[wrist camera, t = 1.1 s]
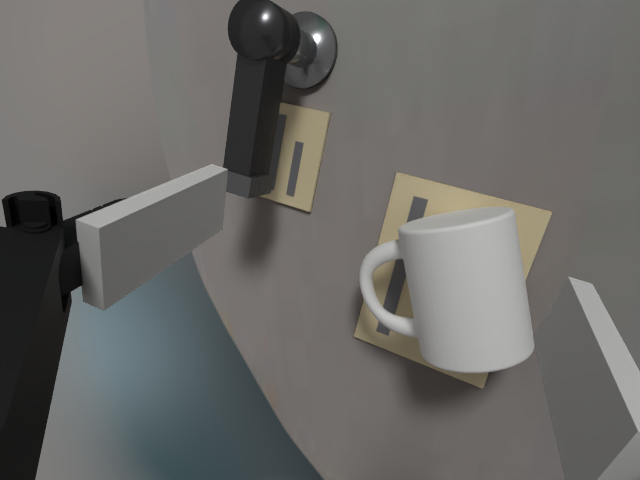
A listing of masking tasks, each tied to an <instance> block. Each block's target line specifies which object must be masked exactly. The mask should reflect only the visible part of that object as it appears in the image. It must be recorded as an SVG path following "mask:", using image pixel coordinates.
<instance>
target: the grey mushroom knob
mask: <svg viewBox="0 0 640 480" xmlns="http://www.w3.org/2000/svg"><path fill="white" fill-rule="evenodd" d="M293 16H294V17H295V19H296V20H297V22H298V24H299V28H300V34H301V39H300V45H299V49H298V51H297V53H296V55H295V56H294V58H293V59H292V60H291V61H290V62H289V63H287V67H286V73H285V79H284V82H285V83H287V84H288V85H290V86H293V87H296V88H301V89H307V88H312V87H315V86H317V85H319V84H320V83H321V82H323V81H324V80H325V79H326V78H327V77H328V75H329V74H330V73H331V71H332V69H333V67H334V65H335V62H336V58H337V39H336V36H335V33H334V31H333V29H332V27H331V26H330V24H329V23H328V22H327V21H326V20H325V19H324V18H322V17H321V16H319V15H317V14H315V13H312V12H298V13H295V14H293Z"/></svg>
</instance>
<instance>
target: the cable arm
mask: <svg viewBox="0 0 640 480" xmlns="http://www.w3.org/2000/svg"><path fill="white" fill-rule="evenodd" d="M228 35H229V39H230V42H231V45H232V47H233V48H234V50H235V51H236V52H237V53H238V54H237V62H236V70H235V78H234V86H233V94H232V102H231V110H230V118H229V125H228V133H227V141H226V149H225V157H224V165H223V168H226V169H228V176H227V187H226V192H229V193H233V194H236V195H239V196H242V197H245V198H253V197H257V196H262V195H266V194H271V189H272V183H273V177H274V175H273V174H270V173H269V171H270V165H271V159H272V153H273V147H274V140H275V134H276V128H277V122H278V116H279V110H280V104H281V97H282V91H283V85H284V79H285V73H286V67H287V63H289V62H290V61H291V60H292V59H293V58H294V56H295V55H296V53H297V51H298V49H299V45H300V39H301V34H300V28H299V24H298V22H297V20H296V19H295V17H294V16H293V15H292V14H291V13H289V12H288V11H286V10H284V9H283V8H281V7H280V6H278V5H276V4H275V3H273V2H272V1H270V0H239V1H238V2H237V4H236V5H235V6H234V8H233V10H232V12H231V14H230V17H229V22H228Z"/></svg>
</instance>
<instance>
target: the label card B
mask: <svg viewBox="0 0 640 480" xmlns="http://www.w3.org/2000/svg"><path fill="white" fill-rule="evenodd" d="M482 207H509V208H511V209H513V210H514V211H515V216H516V223H517V229H518V236H519V243H520V250H521V257H522V263H523V270H524V277H525V280H526V278H527V275H528V273H529V270H530V268H531V265H532V263H533V260H534V257H535V255H536V252H537V250H538V247H539V245H540V242H541V240H542V237H543V235H544V232H545V230H546V227H547V225H548V222H549V219H550V217H551V214H552V212H551V211H547V210H543V209H539V208H535V207H531V206H527V205H523V204H519V203H516V202H512V201H508V200H504V199H500V198H496V197H492V196H488V195H484V194H480V193H476V192H472V191H469V190H465V189H461V188H457V187H453V186H449V185H445V184H441V183H437V182H433V181H429V180H426V179H422V178H418V177H414V176H410V175H406V174H402V173H398V172H397V174H396V178H395V182H394V185H393V189H392V193H391V197H390V201H389V205H388V208H387V212H386V216H385V220H384V224H383V227H382V231H381V235H380V239H379V243H378V246H379V245H381V244H383V243H386V242H389V241H393V240H397V239H399V235H398V229H399V227H400V226H402V225H403V224H405V223H408V222H410V221H413V220H416V219H420V218H424V217H428V216H432V215H436V214H441V213H446V212H452V211H458V210H465V209H472V208H482ZM372 280H373V286H374V290H375V293H376V296H377V298H378V300H379V302H380V304H381V305H382V307H383V308H384V309H385V310H387V311H388V312H390V313H391V314H394V315H397V316H401V317H407V318H414V315H413V309H412V304H411V299H410V293H409V288H408V283H407V277H406V272H405V267H404V261H403V259H397V260H393V261H390V262H387V263H385V264H383V265H381V266H379V267H378V268H377V269H376V270H375V271H374V273H373V277H372ZM354 337H356V338H359V339H361V340H364V341H366V342H369V343H371V344H373V345H376V346H378V347H381V348H383V349H386V350H388V351H391V352H393V353H396V354H398V355H400V356H403V357H405V358H408V359H410V360H413V361H415V362H418V363H420V364H423V365H425V366H427V367H430V368H432V369H435V370H437V371H440V372H442V373H445V374H447V375H449V376H452V377H454V378H457V379H459V380H462V381H464V382H467V383H469V384H472V385H474V386H476V387H479V388H481V389H483V387H484V384H485V382H486V379H487V377H488V374H489V372H487V373H459V372H452V371H447V370H443V369H440V368H438V367H435V366H433V365H431V364H430V363H428V362H427V361H426V360H425V359H424V358H423V357H422V355H421V352H420V347H419V341H418V338H416V337H409V336H404V335H401V334H398V333H395V332H393V331H391V330H389V329H388V328H386V327H385V326H384V325H382V324H381V323H380V322H379V321H378V320H377V319H376V318H375V317H374V315H373V314H372V313H371V311H370V310H369V308H368V307H367V305H366V303H365V301H364V300H363V304H362V308H361V312H360V315H359V319H358V323H357V327H356V331H355V334H354Z"/></svg>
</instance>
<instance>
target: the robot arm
mask: <svg viewBox="0 0 640 480" xmlns="http://www.w3.org/2000/svg"><path fill="white" fill-rule="evenodd" d="M227 176H228V169H226V168H223V167H219V166H216V165H213V164H211V165H208V166H206V167H203V168H201V169H198V170H196V171H193V172H191V173H188V174H186V175H184V176H181V177H179V178H176V179H174V180H171V181H169V182H166V183H164V184H162V185H159V186H157V187H154V188H152V189H149V190H147V191H144V192H142V193H140V194H137V195H135V196H132V197H130V198H124V199H118V200H114V201H112V202H109V203H107V204H104V205H103V206H99V207H97V208H94V209H93V210H89V211H86V212H84V213H82V214H79V215H76V216H74V217H72V218H69V219H66V220H64V221H63V217H62V208H61V200H60V197H59V196H57V195H56V194H53V193H50V192H45V191H23V192H17V193H13V194H10V195H8V196H6V197H5V198H3V199H2V204H3V209H4V215H5V220H6V226H7V227H0V480H35V477H36V473H37V468H38V463H39V458H40V453H41V448H42V444H43V439H44V434H45V429H46V424H47V419H48V414H49V410H50V405H51V400H52V395H53V390H54V385H55V380H56V375H57V371H58V366H59V361H60V356H61V351H62V346H63V341H64V337H65V332H66V327H67V322H68V317H69V312H70V307H71V302H72V300H71V291H73V290H74V289H76V288H78V287H79V286H81V285H82V294H83V301H84V302H85V303H88V304H90V305H92V306H95V307H97V308H99V309H102V310H105V309H107V308H108V307H110V306H112V305H113V304H114V303H116V302H117V301H118V300H120V299H122V298H123V297H124V296H126V295H127V294H129V293H130V292H132V291H133V290H135V289H136V288H138V287H139V286H141V285H142V284H143V283H145V282H146V281H148V280H149V279H151V278H152V277H154V276H155V275H156V274H158V273H159V272H161V271H162V270H164V269H165V268H167V267H168V266H170V265H171V264H172V263H174V262H175V261H177V260H178V259H180V258H181V257H182V256H184V255H186V254H187V253H188V252H190V251H191V250H193V249H194V248H196V247H197V246H199V245H200V244H202V243H203V242H204V241H206V240H207V239H209V238H210V237H212V236H213V235H215V234H216V233H217V232H219V231H220V230H222V229H223V218H224V208H225V197H226V187H227ZM533 339H534V344H535V348H536V352H537V357H538V361H539V366H540V370H541V375H542V379H543V383H544V388H545V392H546V397H547V401H548V405H549V410H550V414H551V419H552V423H553V428H554V432H555V436H556V441H557V445H558V450H559V454H560V458H561V463H562V467H563V472H564V476H565V480H640V371H639V369H638V368H637V366H636V364H635V362H634V360H633V358H632V356H631V355H630V353H629V351H628V349H627V347H626V345H625V344H624V342H623V340H622V338H621V336H620V334H619V332H618V331H617V329H616V327H615V325H614V323H613V321H612V320H611V318H610V316H609V314H608V312H607V310H606V309H605V307H604V305H603V303H602V301H601V299H600V297H599V296H598V294H597V292H596V290H595V288H594V286H593V285H592V284H590V283H587V282H584V281H581V280H578V279H575V278H571V277H568V278H567V280H566V281H565V283H564V285H563V287H562V288H561V290H560V292H559V294H558V295H557V297H556V299H555V301H554V302H553V304H552V306H551V308H550V309H549V311H548V313H547V315H546V316H545V318H544V320H543V322H542V323H541V325H540V327H539V329H538V330H537V332H536V334H535V336H534V337H533Z"/></svg>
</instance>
